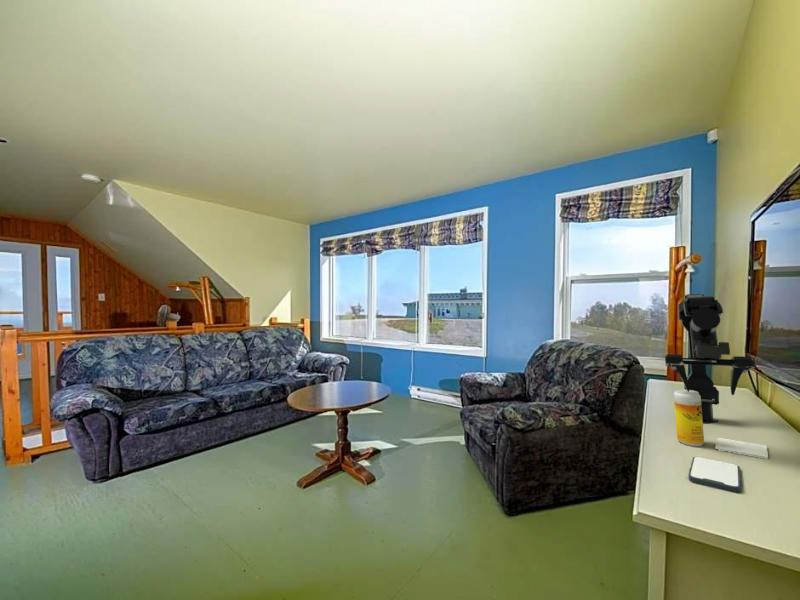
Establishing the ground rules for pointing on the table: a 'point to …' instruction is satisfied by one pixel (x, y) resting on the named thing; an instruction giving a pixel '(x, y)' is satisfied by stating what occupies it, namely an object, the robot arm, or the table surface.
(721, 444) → the mat
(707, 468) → the phone case
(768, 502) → the table surface
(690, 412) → the beer can
